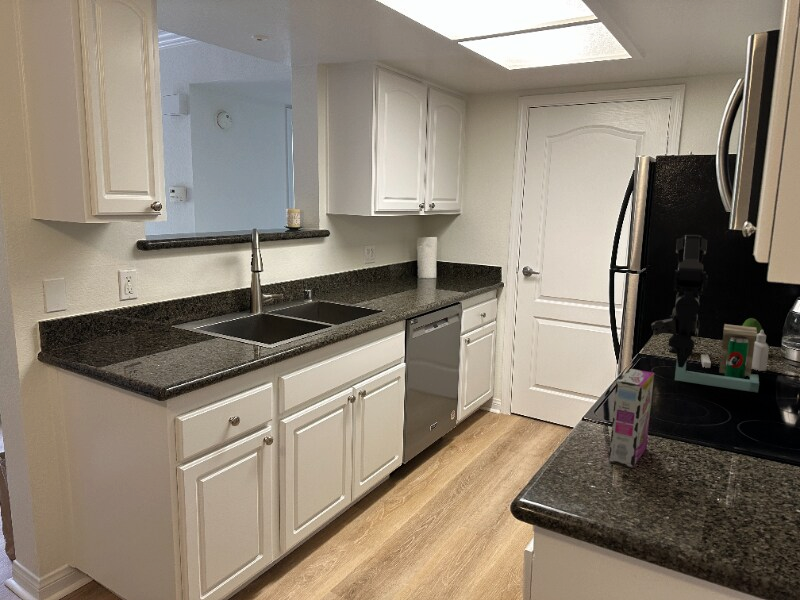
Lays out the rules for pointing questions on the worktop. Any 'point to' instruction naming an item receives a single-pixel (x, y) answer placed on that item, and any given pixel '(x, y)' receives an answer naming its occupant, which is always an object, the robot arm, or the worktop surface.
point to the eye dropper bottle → (760, 352)
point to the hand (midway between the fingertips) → (681, 366)
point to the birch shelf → (738, 331)
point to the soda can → (737, 357)
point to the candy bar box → (631, 417)
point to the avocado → (753, 325)
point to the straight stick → (705, 361)
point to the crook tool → (717, 379)
